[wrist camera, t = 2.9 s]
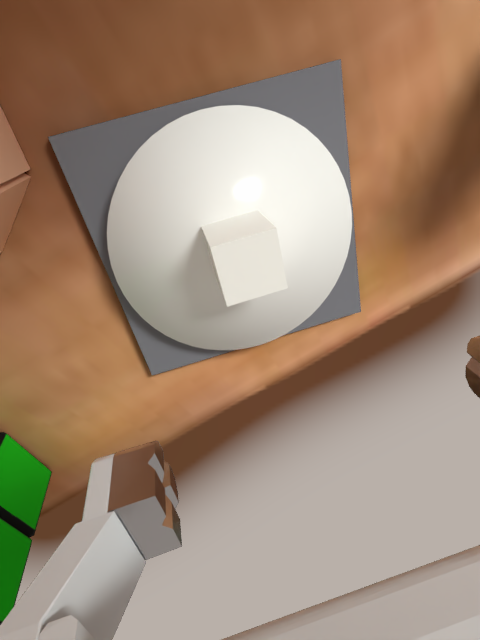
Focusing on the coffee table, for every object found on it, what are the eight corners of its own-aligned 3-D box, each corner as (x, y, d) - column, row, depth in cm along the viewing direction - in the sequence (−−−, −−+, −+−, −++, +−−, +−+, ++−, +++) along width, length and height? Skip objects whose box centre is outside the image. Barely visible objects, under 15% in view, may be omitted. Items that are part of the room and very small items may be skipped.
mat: (335, 60, 19) (340, 59, 18) (356, 307, 26) (360, 311, 25) (51, 136, 18) (47, 137, 18) (152, 370, 25) (152, 375, 25)
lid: (330, 73, 19) (377, 63, 15) (353, 306, 25) (390, 342, 21) (63, 147, 18) (38, 156, 14) (158, 367, 24) (159, 416, 20)
